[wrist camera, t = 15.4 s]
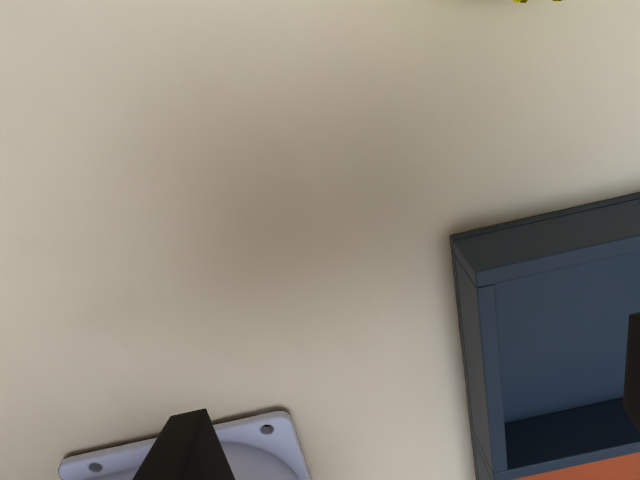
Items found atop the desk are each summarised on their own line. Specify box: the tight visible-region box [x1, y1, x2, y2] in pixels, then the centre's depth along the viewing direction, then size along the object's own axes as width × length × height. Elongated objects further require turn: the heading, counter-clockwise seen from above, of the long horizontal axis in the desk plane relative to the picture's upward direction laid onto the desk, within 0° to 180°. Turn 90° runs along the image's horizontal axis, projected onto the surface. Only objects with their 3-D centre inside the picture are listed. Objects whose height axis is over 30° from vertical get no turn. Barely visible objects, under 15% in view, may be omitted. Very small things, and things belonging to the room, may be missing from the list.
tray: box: [450, 193, 640, 480], centre depth 21 cm, size 19×10×3 cm, turn 12°
